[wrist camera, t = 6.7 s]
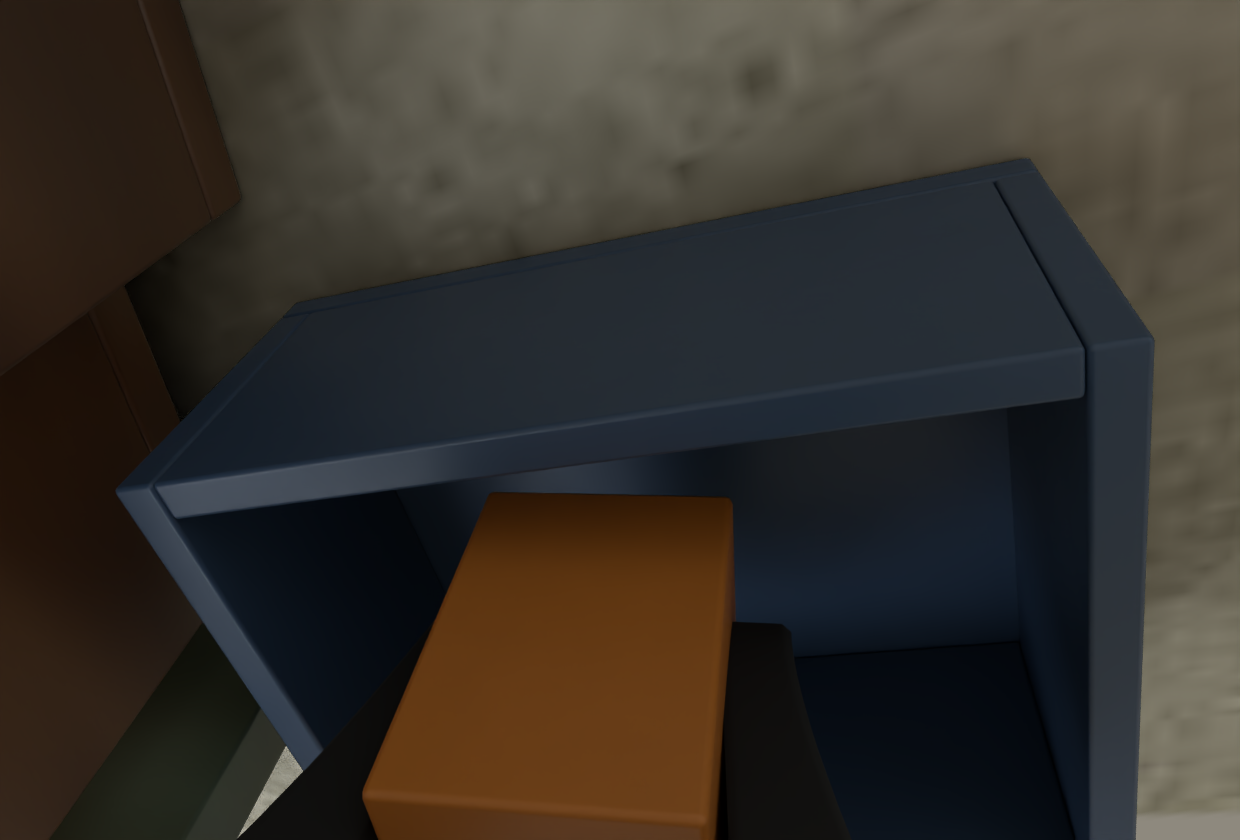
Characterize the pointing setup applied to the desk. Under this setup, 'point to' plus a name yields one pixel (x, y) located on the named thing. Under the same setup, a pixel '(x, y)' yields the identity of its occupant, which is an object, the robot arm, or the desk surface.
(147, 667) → the drawer
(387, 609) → the open box
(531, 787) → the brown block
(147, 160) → the cabinet
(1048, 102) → the desk surface
